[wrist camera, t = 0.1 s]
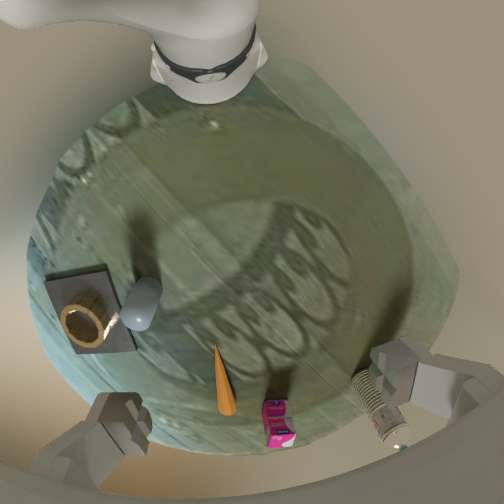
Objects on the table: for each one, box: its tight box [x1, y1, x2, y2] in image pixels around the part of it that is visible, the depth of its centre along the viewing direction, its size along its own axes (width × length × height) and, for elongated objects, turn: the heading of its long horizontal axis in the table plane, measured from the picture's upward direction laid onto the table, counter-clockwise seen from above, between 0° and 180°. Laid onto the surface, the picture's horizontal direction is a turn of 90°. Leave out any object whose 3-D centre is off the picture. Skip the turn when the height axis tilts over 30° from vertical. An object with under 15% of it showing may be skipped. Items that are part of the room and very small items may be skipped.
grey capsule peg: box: [120, 276, 163, 331], centre depth 44 cm, size 5×5×10 cm
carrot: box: [215, 344, 236, 415], centre depth 56 cm, size 20×4×4 cm, turn 4°
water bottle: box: [351, 368, 411, 451], centre depth 50 cm, size 7×7×25 cm
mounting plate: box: [44, 269, 138, 354], centre depth 49 cm, size 18×16×1 cm
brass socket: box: [61, 296, 110, 348], centre depth 47 cm, size 10×10×4 cm
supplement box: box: [262, 399, 296, 448], centre depth 57 cm, size 6×6×12 cm
